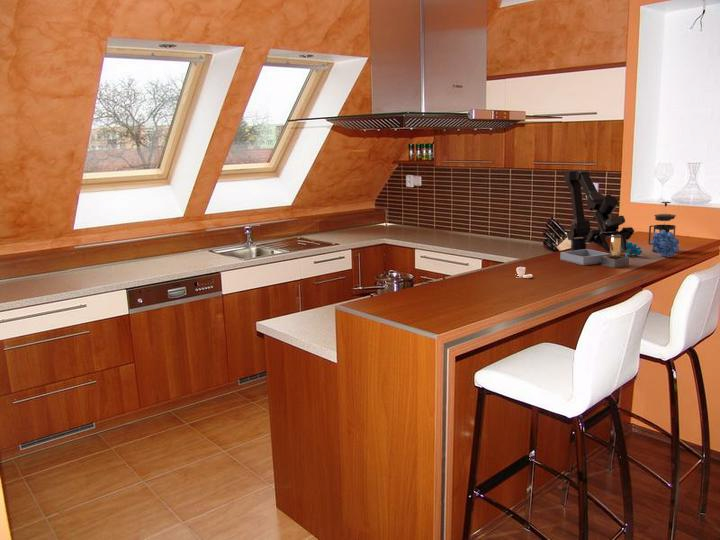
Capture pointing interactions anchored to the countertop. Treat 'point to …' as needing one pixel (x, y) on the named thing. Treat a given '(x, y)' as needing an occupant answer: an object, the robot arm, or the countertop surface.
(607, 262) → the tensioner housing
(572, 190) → the robot arm
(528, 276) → the teacup and saucer
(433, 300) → the countertop surface
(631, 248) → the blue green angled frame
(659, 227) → the french press
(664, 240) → the grapes
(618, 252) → the capped labeled canister
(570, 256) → the tray
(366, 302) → the countertop surface
